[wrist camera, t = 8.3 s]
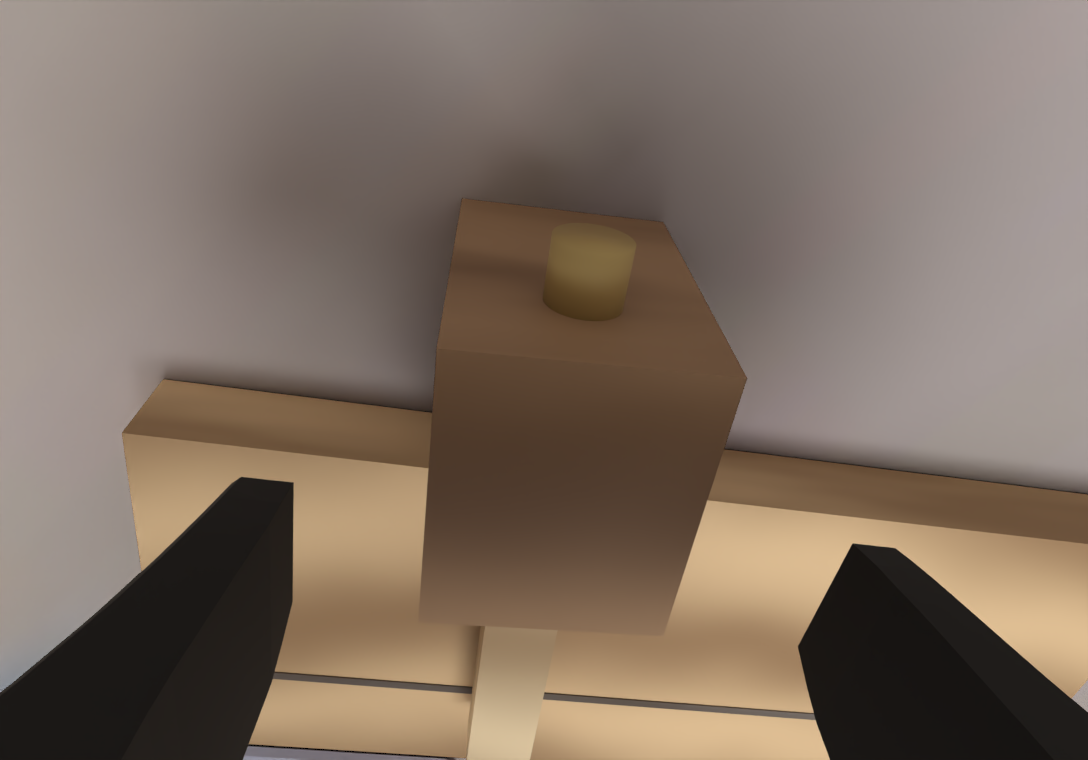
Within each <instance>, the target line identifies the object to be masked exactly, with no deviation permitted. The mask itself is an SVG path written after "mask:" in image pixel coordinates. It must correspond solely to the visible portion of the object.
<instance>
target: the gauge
mask: <svg viewBox="0 0 1088 760" xmlns="http://www.w3.org/2000/svg"><path fill="white" fill-rule="evenodd" d="M746 380H747V377H746V375H745V373H744V372H743V370H742V368H741V366H740V364H739V362H738V360H737V358H736V357H735V355H734V353H733V351H732V349H731V347H730V345H729V344H728V342H727V340H726V338H725V336H724V334H723V332H722V331H721V329H720V327H719V325H718V323H717V321H716V319H715V318H714V316H713V314H712V312H711V310H710V308H709V306H708V305H707V303H706V301H705V299H704V297H703V295H702V293H701V291H700V290H699V288H698V286H697V284H696V282H695V280H694V278H693V277H692V275H691V273H690V271H689V269H688V267H687V265H686V264H685V262H684V260H683V258H682V256H681V254H680V252H679V251H678V249H677V247H676V245H675V243H674V241H673V239H672V237H671V236H670V234H669V232H668V230H667V228H666V226H665V224H664V223H663V222H657V221H649V220H640V219H632V218H623V217H615V216H607V215H598V214H590V213H581V212H573V211H564V210H556V209H547V208H539V207H531V206H522V205H514V204H505V203H497V202H488V201H480V200H471V199H463V198H462V201H461V207H460V213H459V219H458V225H457V231H456V237H455V242H454V248H453V254H452V260H451V266H450V272H449V278H448V284H447V290H446V296H445V301H444V307H443V313H442V319H441V325H440V331H439V337H438V343H437V349H436V364H435V379H434V394H433V409H432V423H431V438H430V453H429V468H428V483H427V498H426V513H425V528H424V543H423V557H422V572H421V587H420V602H419V617H418V622H419V623H437V624H454V625H472V626H481V627H480V635H479V642H478V650H477V657H476V665H475V673H474V680H473V688H472V695H471V703H470V710H469V718H468V729H467V749H466V760H530V757H531V753H532V748H533V743H534V739H535V734H536V729H537V725H538V720H539V715H540V710H541V706H542V701H543V696H544V692H545V687H546V682H547V678H548V673H549V668H550V663H551V659H552V654H553V649H554V645H555V640H556V635H557V631H558V630H561V631H579V632H596V633H614V634H632V635H649V636H663V635H664V632H665V629H666V626H667V623H668V620H669V617H670V614H671V611H672V608H673V605H674V602H675V599H676V595H677V592H678V589H679V586H680V583H681V580H682V577H683V574H684V571H685V568H686V565H687V562H688V559H689V555H690V552H691V549H692V546H693V543H694V540H695V537H696V534H697V531H698V528H699V525H700V522H701V519H702V515H703V512H704V509H705V506H706V503H707V500H708V497H709V494H710V491H711V488H712V485H713V482H714V479H715V475H716V472H717V469H718V466H719V463H720V460H721V457H722V454H723V451H724V448H725V445H726V442H727V439H728V435H729V432H730V429H731V426H732V423H733V420H734V417H735V414H736V411H737V408H738V405H739V402H740V399H741V395H742V392H743V389H744V386H745V383H746Z"/></svg>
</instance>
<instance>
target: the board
mask: <svg viewBox="0 0 1088 760" xmlns="http://www.w3.org/2000/svg"><path fill="white" fill-rule="evenodd" d="M431 423H432V413H430V412H422V411H414V410H406V409H398V408H390V407H382V406H373V405H365V404H357V403H349V402H341V401H333V400H325V399H317V398H309V397H301V396H293V395H285V394H277V393H269V392H261V391H253V390H245V389H237V388H229V387H221V386H213V385H205V384H197V383H189V382H181V381H173V380H165V379H163V380H162V381H161V383H160V384H159V385H158V387H157V388H156V389H155V391H154V392H153V393H152V395H151V396H150V397H149V398H148V400H147V401H146V402H145V404H144V405H143V406H142V408H141V409H140V410H139V411H138V413H137V414H136V415H135V417H134V418H133V419H132V421H131V422H130V423H129V424H128V426H127V427H126V428H125V430H124V431H123V432H122V437H123V444H124V452H125V459H126V466H127V473H128V480H129V487H130V494H131V501H132V508H133V515H134V522H135V529H136V536H137V543H138V550H139V557H140V564H141V571H143V570H144V569H145V568H146V567H147V566H148V565H149V564H150V563H151V562H153V561H154V560H155V559H156V558H157V557H158V556H159V555H160V554H161V553H162V552H163V551H164V550H165V549H166V548H167V547H168V546H169V545H170V544H171V543H172V542H173V541H174V540H176V539H177V538H178V537H179V536H180V535H181V534H182V533H183V532H184V531H185V530H186V529H187V528H188V527H189V526H190V525H191V524H192V523H193V522H194V521H195V520H196V519H197V518H198V517H199V516H200V515H201V514H202V513H203V512H204V511H205V510H206V509H207V508H208V507H209V506H210V505H211V504H212V503H213V502H214V501H215V500H216V499H217V498H218V497H219V496H220V495H221V494H222V493H223V492H224V490H225V489H226V488H227V487H228V486H229V485H230V484H231V483H233V482H234V481H236V480H237V479H239V478H240V477H248V478H257V479H266V480H275V481H284V482H294V501H293V602H292V606H291V610H290V614H289V618H288V622H287V626H286V630H285V634H284V638H283V642H282V646H281V650H280V653H279V657H278V661H277V665H276V668H275V672H274V676H273V679H272V683H271V686H270V688H269V691H268V694H267V697H266V699H265V702H264V705H263V707H262V710H261V713H260V715H259V718H258V721H257V723H256V726H255V729H254V731H253V734H252V737H251V739H250V742H249V744H254V745H270V746H285V747H301V748H316V749H332V750H347V751H363V752H378V753H394V754H409V755H425V756H440V757H456V758H466V749H467V729H468V718H469V710H470V703H471V695H472V688H473V680H474V673H475V665H476V657H477V650H478V642H479V635H480V627H481V626H472V625H454V624H437V623H419V622H418V617H419V602H420V587H421V572H422V557H423V543H424V528H425V513H426V498H427V483H428V468H429V453H430V438H431ZM852 543H854V544H863V545H872V546H881V547H891V548H896V549H897V550H898V551H900V552H901V553H902V554H904V555H905V556H906V557H907V558H909V559H910V560H911V561H913V562H914V563H915V564H916V565H917V566H919V567H920V568H921V569H922V570H924V571H925V572H926V573H927V574H928V575H930V576H931V577H932V578H933V579H934V580H935V581H937V582H938V583H939V584H940V585H941V586H942V587H944V588H945V589H946V590H947V591H948V592H949V593H951V594H952V595H953V596H954V597H955V598H956V599H957V600H959V601H960V602H961V603H962V604H963V605H964V606H965V607H967V608H968V609H969V610H970V611H971V612H972V613H973V614H975V615H976V616H977V617H978V618H979V619H980V620H981V621H982V622H984V623H985V624H986V625H987V626H988V627H989V628H990V629H992V630H993V631H994V632H995V633H996V634H997V635H998V636H1000V637H1001V638H1002V639H1003V640H1004V641H1005V642H1006V643H1008V644H1009V645H1010V646H1011V647H1012V648H1013V649H1014V650H1016V651H1017V652H1018V653H1019V654H1020V655H1021V656H1022V657H1023V658H1025V659H1026V660H1027V661H1028V662H1029V663H1030V664H1032V665H1033V666H1034V667H1035V668H1036V669H1037V670H1038V671H1040V672H1041V673H1042V674H1043V675H1044V676H1045V677H1047V678H1048V679H1049V680H1050V681H1051V682H1052V683H1054V684H1055V685H1056V686H1057V687H1058V688H1059V689H1061V690H1062V691H1063V692H1064V693H1065V694H1066V695H1068V696H1069V697H1070V698H1072V697H1073V696H1074V695H1075V694H1076V693H1077V691H1078V690H1079V689H1080V688H1081V687H1082V686H1083V685H1084V683H1085V682H1086V681H1087V680H1088V495H1087V494H1079V493H1071V492H1063V491H1055V490H1047V489H1039V488H1031V487H1023V486H1015V485H1007V484H999V483H991V482H983V481H975V480H967V479H959V478H951V477H943V476H935V475H927V474H919V473H911V472H903V471H895V470H887V469H879V468H871V467H863V466H855V465H847V464H839V463H831V462H823V461H814V460H806V459H798V458H790V457H782V456H774V455H766V454H758V453H750V452H742V451H734V450H726V449H724V451H723V454H722V457H721V460H720V463H719V466H718V469H717V472H716V475H715V479H714V482H713V485H712V488H711V491H710V494H709V497H708V500H707V503H706V506H705V509H704V512H703V515H702V519H701V522H700V525H699V528H698V531H697V534H696V537H695V540H694V543H693V546H692V549H691V552H690V555H689V559H688V562H687V565H686V568H685V571H684V574H683V577H682V580H681V583H680V586H679V589H678V592H677V595H676V599H675V602H674V605H673V608H672V611H671V614H670V617H669V620H668V623H667V626H666V629H665V632H664V635H663V636H649V635H632V634H614V633H596V632H579V631H561V630H558V631H557V635H556V640H555V645H554V649H553V654H552V659H551V663H550V668H549V673H548V678H547V682H546V687H545V692H544V696H543V701H542V706H541V710H540V715H539V720H538V725H537V729H536V734H535V739H534V743H533V748H532V753H531V757H530V760H830V758H829V756H828V753H827V750H826V748H825V745H824V742H823V740H822V737H821V734H820V731H819V729H818V726H817V723H816V720H815V716H814V712H813V708H812V704H811V701H810V697H809V693H808V689H807V685H806V681H805V676H804V672H803V667H802V663H801V659H800V654H799V650H798V645H799V643H800V641H801V639H802V638H803V636H804V634H805V632H806V630H807V628H808V626H809V624H810V622H811V621H812V619H813V617H814V615H815V613H816V611H817V609H818V607H819V606H820V604H821V602H822V600H823V598H824V596H825V594H826V592H827V590H828V589H829V587H830V585H831V583H832V581H833V579H834V577H835V575H836V574H837V572H838V570H839V568H840V566H841V564H842V562H843V560H844V558H845V557H846V555H847V553H848V551H849V549H850V547H851V545H852Z"/></svg>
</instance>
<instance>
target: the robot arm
mask: <svg viewBox="0 0 1088 760" xmlns="http://www.w3.org/2000/svg"><path fill="white" fill-rule="evenodd" d="M293 501H294V482H284V481H275V480H266V479H257V478H248V477H240V478H239V479H237V480H236V481H234V482H233V483H231V484H230V485H229V486H228V487H227V488H226V489H225V490H224V492H223V493H222V494H221V495H220V496H219V497H218V498H217V499H216V500H215V501H214V502H213V503H212V504H211V505H210V506H209V507H208V508H207V509H206V510H205V511H204V512H203V513H202V514H201V515H200V516H199V517H198V518H197V519H196V520H195V521H194V522H193V523H192V524H191V525H190V526H189V527H188V528H187V529H186V530H185V531H184V532H183V533H182V534H181V535H180V536H179V537H178V538H177V539H176V540H174V541H173V542H172V543H171V544H170V545H169V546H168V547H167V548H166V549H165V550H164V551H163V552H162V553H161V554H160V555H159V556H158V557H157V558H156V559H155V560H154V561H153V562H151V563H150V564H149V565H148V566H147V567H146V568H145V569H144V570H143V571H142V572H141V573H139V574H138V575H137V576H136V577H135V578H134V579H133V580H132V581H131V582H130V583H129V584H127V585H126V586H125V587H124V588H123V589H122V590H121V591H120V592H119V593H118V594H116V595H115V596H114V597H113V598H112V599H111V600H110V601H109V602H108V603H107V604H106V605H104V606H103V607H102V608H101V609H100V610H99V611H98V612H97V613H95V614H94V615H93V616H92V617H91V618H90V619H89V620H87V621H86V622H85V623H84V624H83V625H82V626H80V627H79V628H78V629H77V630H76V631H74V632H73V633H72V634H71V635H70V636H68V637H67V638H66V639H65V640H64V641H62V642H61V643H60V644H59V645H58V646H56V647H55V648H54V649H53V650H52V651H50V652H49V653H48V654H47V655H46V656H44V657H43V658H42V659H41V660H40V661H38V662H37V663H36V664H35V665H34V666H32V667H31V668H30V669H29V670H28V671H26V672H25V673H24V674H23V675H22V676H20V677H19V678H18V679H17V680H16V681H14V682H13V683H12V684H11V685H9V686H8V687H7V688H6V689H4V690H3V691H2V692H0V760H448V759H444V758H429V757H414V756H398V755H383V754H367V753H352V752H336V751H320V750H305V749H289V748H274V747H258V746H248V744H249V742H250V739H251V737H252V734H253V731H254V729H255V726H256V723H257V721H258V718H259V715H260V713H261V710H262V707H263V705H264V702H265V699H266V697H267V694H268V691H269V688H270V686H271V683H272V679H273V676H274V672H275V668H276V665H277V661H278V657H279V653H280V650H281V646H282V642H283V638H284V634H285V630H286V626H287V622H288V618H289V614H290V610H291V606H292V602H293ZM798 650H799V654H800V659H801V663H802V667H803V672H804V676H805V681H806V685H807V689H808V693H809V697H810V701H811V704H812V708H813V712H814V716H815V720H816V723H817V726H818V729H819V731H820V734H821V737H822V740H823V742H824V745H825V748H826V750H827V753H828V756H829V758H830V760H1088V712H1087V711H1085V710H1084V709H1083V708H1082V707H1081V706H1079V705H1078V704H1077V703H1076V702H1075V701H1074V700H1072V699H1071V698H1070V697H1069V696H1068V695H1066V694H1065V693H1064V692H1063V691H1062V690H1061V689H1059V688H1058V687H1057V686H1056V685H1055V684H1054V683H1052V682H1051V681H1050V680H1049V679H1048V678H1047V677H1045V676H1044V675H1043V674H1042V673H1041V672H1040V671H1038V670H1037V669H1036V668H1035V667H1034V666H1033V665H1032V664H1030V663H1029V662H1028V661H1027V660H1026V659H1025V658H1023V657H1022V656H1021V655H1020V654H1019V653H1018V652H1017V651H1016V650H1014V649H1013V648H1012V647H1011V646H1010V645H1009V644H1008V643H1006V642H1005V641H1004V640H1003V639H1002V638H1001V637H1000V636H998V635H997V634H996V633H995V632H994V631H993V630H992V629H990V628H989V627H988V626H987V625H986V624H985V623H984V622H982V621H981V620H980V619H979V618H978V617H977V616H976V615H975V614H973V613H972V612H971V611H970V610H969V609H968V608H967V607H965V606H964V605H963V604H962V603H961V602H960V601H959V600H957V599H956V598H955V597H954V596H953V595H952V594H951V593H949V592H948V591H947V590H946V589H945V588H944V587H942V586H941V585H940V584H939V583H938V582H937V581H935V580H934V579H933V578H932V577H931V576H930V575H928V574H927V573H926V572H925V571H924V570H922V569H921V568H920V567H919V566H917V565H916V564H915V563H914V562H913V561H911V560H910V559H909V558H907V557H906V556H905V555H904V554H902V553H901V552H900V551H898V550H897V549H896V548H891V547H881V546H872V545H863V544H854V543H852V545H851V547H850V549H849V551H848V553H847V555H846V557H845V558H844V560H843V562H842V564H841V566H840V568H839V570H838V572H837V574H836V575H835V577H834V579H833V581H832V583H831V585H830V587H829V589H828V590H827V592H826V594H825V596H824V598H823V600H822V602H821V604H820V606H819V607H818V609H817V611H816V613H815V615H814V617H813V619H812V621H811V622H810V624H809V626H808V628H807V630H806V632H805V634H804V636H803V638H802V639H801V641H800V643H799V645H798Z"/></svg>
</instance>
